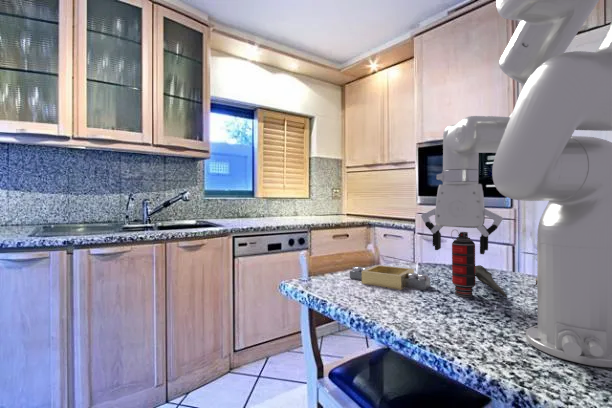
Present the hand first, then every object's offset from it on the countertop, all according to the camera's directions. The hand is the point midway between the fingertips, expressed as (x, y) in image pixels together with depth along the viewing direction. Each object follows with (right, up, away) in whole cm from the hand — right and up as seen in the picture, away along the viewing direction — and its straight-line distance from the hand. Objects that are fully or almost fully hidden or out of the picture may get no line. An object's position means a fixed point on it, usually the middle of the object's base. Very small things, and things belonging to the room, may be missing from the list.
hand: (459, 251), depth 77 cm
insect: (+26, -10, +7) cm, 29 cm away
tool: (+9, -11, +5) cm, 15 cm away
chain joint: (-14, -10, +10) cm, 20 cm away
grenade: (0, -10, -1) cm, 10 cm away
